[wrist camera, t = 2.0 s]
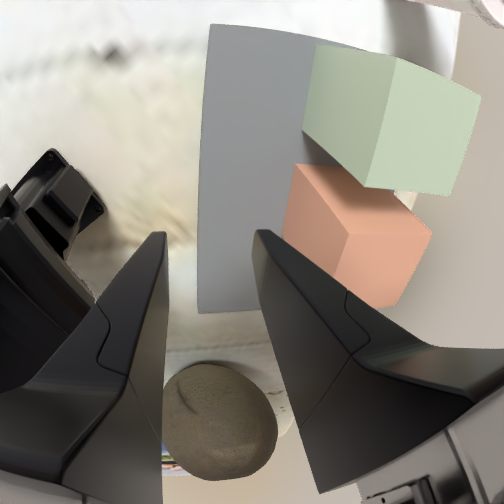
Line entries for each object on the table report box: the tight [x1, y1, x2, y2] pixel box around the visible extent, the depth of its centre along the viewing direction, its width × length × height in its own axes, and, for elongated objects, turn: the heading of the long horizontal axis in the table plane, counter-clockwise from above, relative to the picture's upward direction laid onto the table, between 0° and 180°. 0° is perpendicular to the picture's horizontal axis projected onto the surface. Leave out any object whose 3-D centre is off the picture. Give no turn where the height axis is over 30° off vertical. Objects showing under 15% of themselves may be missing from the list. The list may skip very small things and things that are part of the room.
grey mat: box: [197, 24, 394, 313], centre depth 23 cm, size 16×24×1 cm, turn 173°
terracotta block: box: [281, 164, 433, 308], centre depth 20 cm, size 6×6×8 cm
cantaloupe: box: [162, 364, 278, 481], centre depth 32 cm, size 14×14×15 cm
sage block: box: [302, 45, 481, 196], centre depth 15 cm, size 6×6×8 cm
